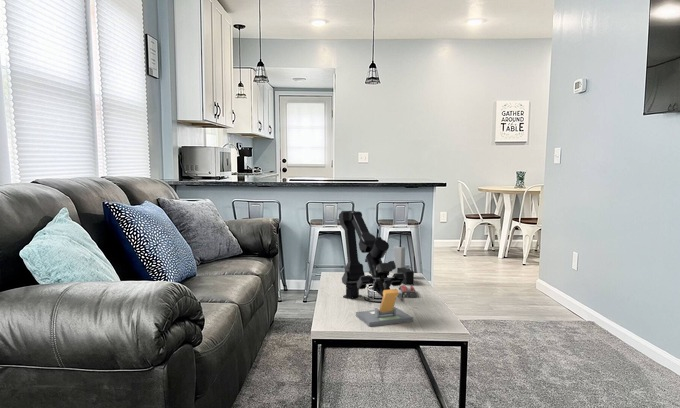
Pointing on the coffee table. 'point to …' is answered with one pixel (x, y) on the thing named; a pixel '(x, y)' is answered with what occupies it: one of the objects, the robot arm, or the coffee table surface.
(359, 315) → the box
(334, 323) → the coffee table surface
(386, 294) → the breaker lever
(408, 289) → the walkie-talkie
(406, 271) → the digital camera
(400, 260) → the vintage mobile phone
